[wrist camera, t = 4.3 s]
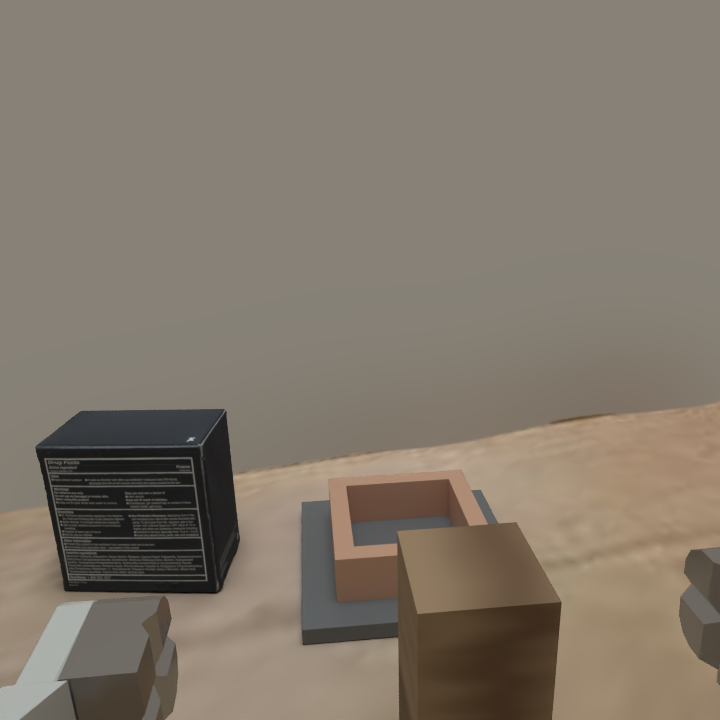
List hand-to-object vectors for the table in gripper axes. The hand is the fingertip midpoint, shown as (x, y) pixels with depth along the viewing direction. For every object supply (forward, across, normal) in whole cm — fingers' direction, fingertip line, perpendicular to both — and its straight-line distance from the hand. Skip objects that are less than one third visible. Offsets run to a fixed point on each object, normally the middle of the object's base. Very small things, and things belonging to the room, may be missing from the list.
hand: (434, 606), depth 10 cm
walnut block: (+12, -4, +20) cm, 24 cm away
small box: (+31, +13, +20) cm, 40 cm away
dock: (+29, -4, +20) cm, 36 cm away
